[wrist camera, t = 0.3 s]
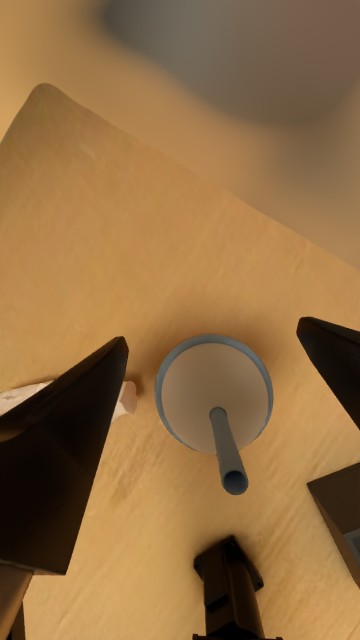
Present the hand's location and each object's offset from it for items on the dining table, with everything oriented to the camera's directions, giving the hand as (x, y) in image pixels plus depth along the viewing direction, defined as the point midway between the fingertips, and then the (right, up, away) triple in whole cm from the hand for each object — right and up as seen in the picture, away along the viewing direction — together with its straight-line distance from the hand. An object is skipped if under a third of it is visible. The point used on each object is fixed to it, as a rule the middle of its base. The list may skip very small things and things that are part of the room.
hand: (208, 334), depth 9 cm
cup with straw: (+2, -5, +15) cm, 16 cm away
